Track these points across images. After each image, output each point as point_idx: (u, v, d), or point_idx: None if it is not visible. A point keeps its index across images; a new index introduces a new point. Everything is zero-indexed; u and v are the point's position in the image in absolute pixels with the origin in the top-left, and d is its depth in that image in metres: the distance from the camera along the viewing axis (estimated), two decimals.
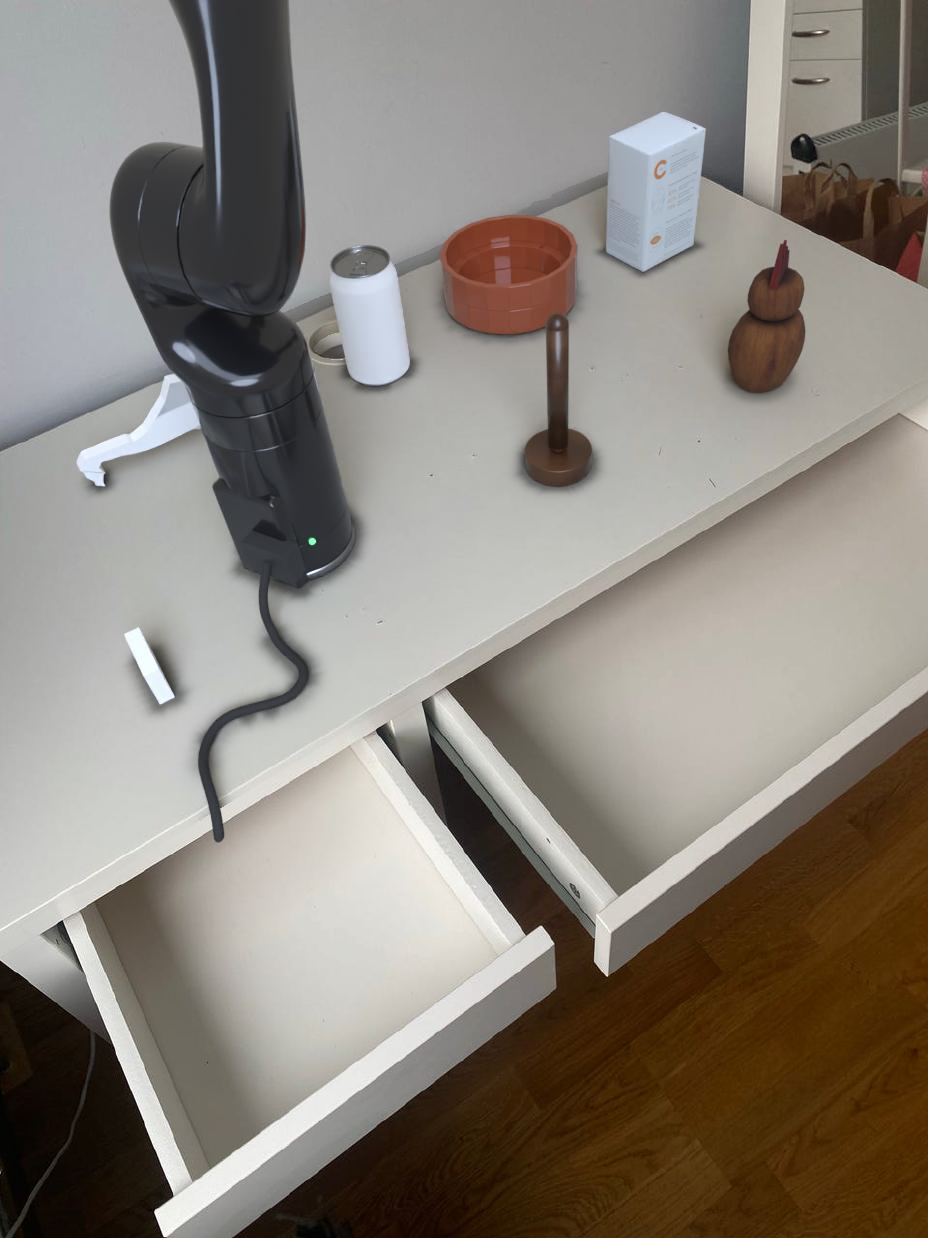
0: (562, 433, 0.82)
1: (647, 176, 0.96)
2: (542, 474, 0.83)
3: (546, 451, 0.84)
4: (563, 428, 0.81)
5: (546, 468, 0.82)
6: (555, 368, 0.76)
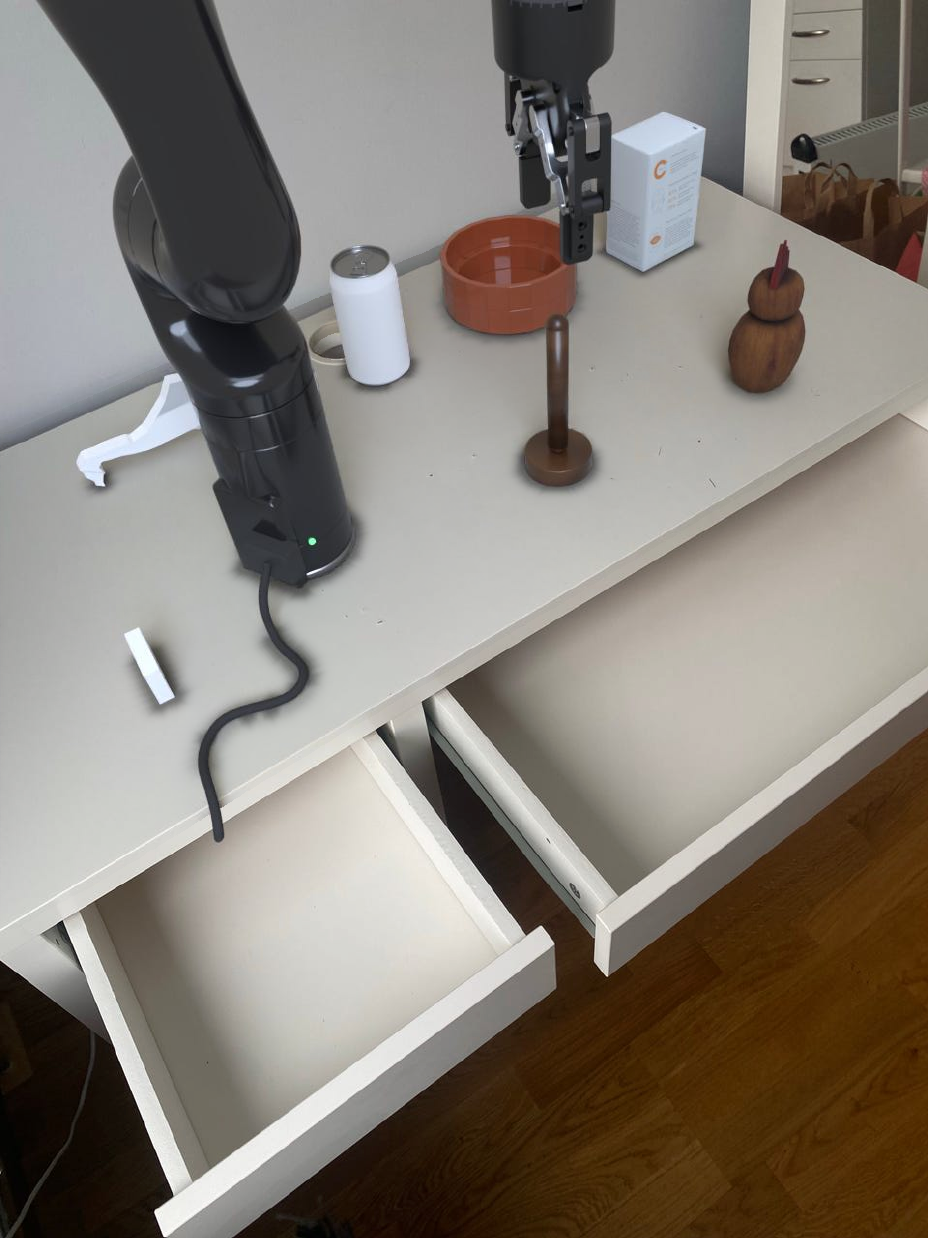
0: (562, 433, 0.82)
1: (647, 176, 0.96)
2: (542, 474, 0.83)
3: (546, 451, 0.84)
4: (563, 428, 0.81)
5: (546, 468, 0.82)
6: (555, 368, 0.76)
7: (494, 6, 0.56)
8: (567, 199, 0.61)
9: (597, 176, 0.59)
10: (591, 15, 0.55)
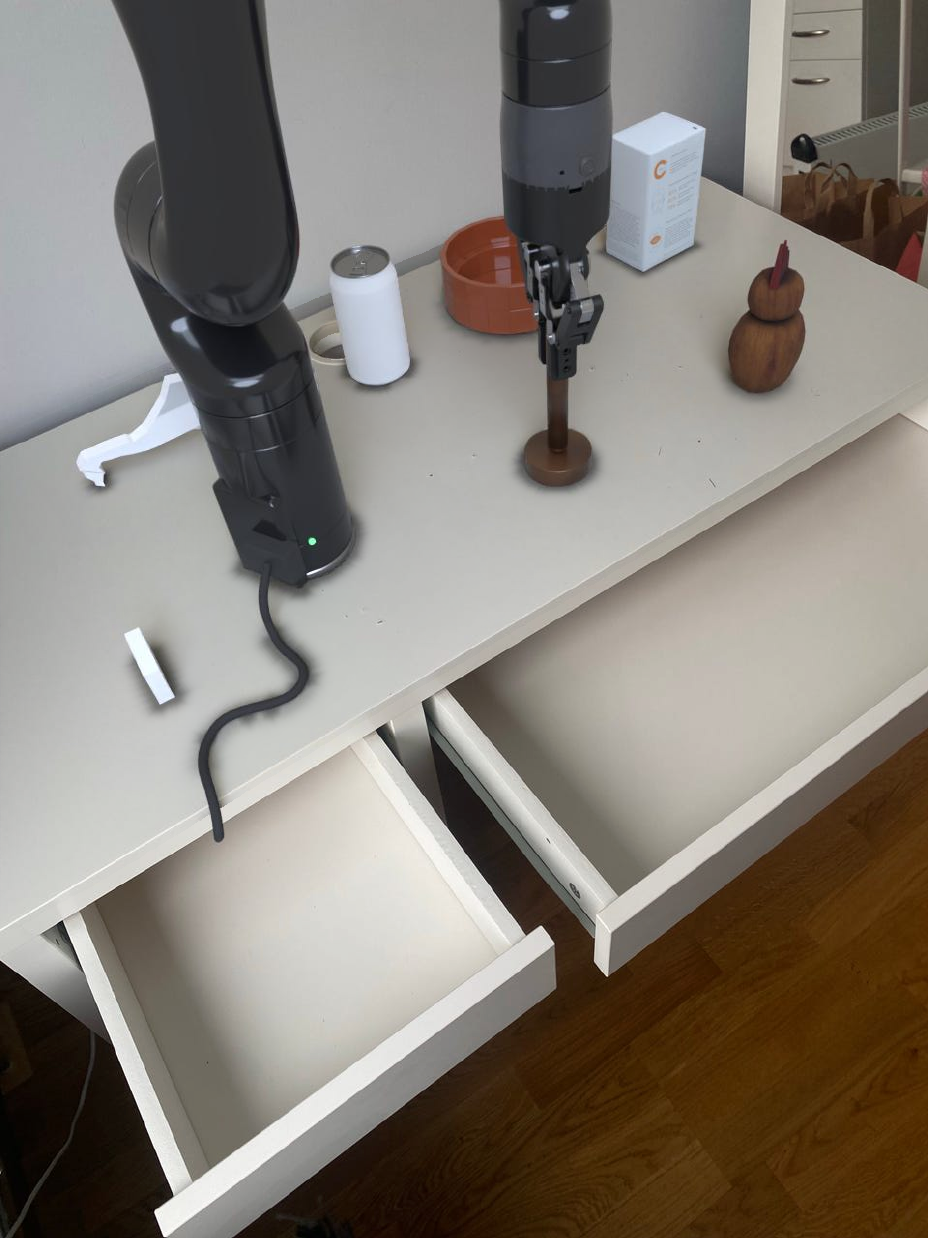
0: (562, 433, 0.82)
1: (647, 176, 0.96)
2: (542, 474, 0.83)
3: (546, 451, 0.84)
4: (563, 428, 0.81)
5: (546, 468, 0.82)
6: None
7: (504, 182, 0.64)
8: None
9: (583, 332, 0.69)
10: (589, 194, 0.63)
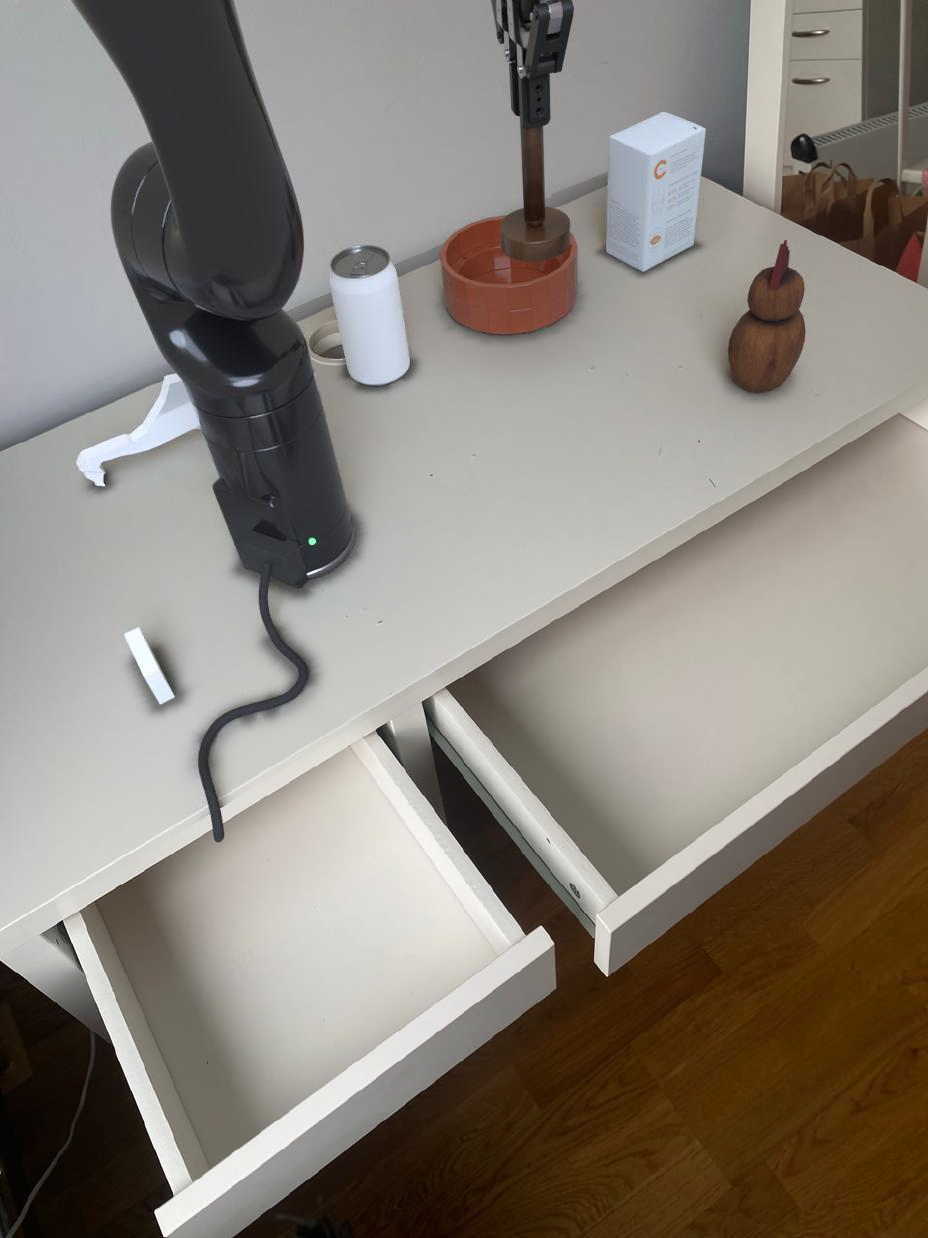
0: (538, 200, 0.78)
1: (647, 176, 0.96)
2: (518, 247, 0.79)
3: (522, 225, 0.80)
4: (539, 194, 0.77)
5: (522, 240, 0.78)
6: None
7: None
8: (524, 61, 0.68)
9: (554, 50, 0.65)
10: None
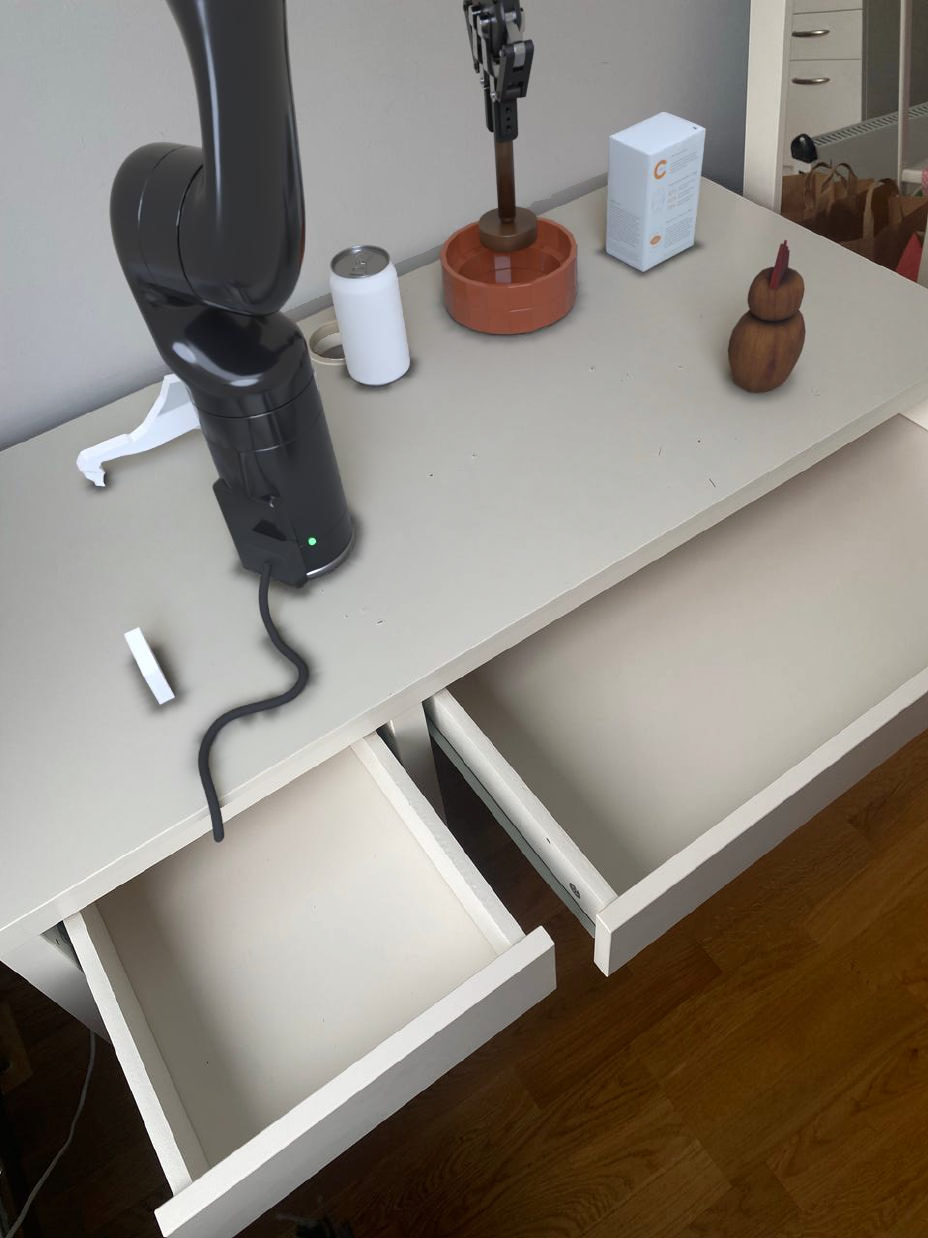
0: (509, 201, 0.93)
1: (647, 176, 0.96)
2: (493, 240, 0.95)
3: (497, 222, 0.96)
4: (510, 196, 0.93)
5: (496, 234, 0.94)
6: None
7: None
8: (496, 88, 0.84)
9: (519, 80, 0.81)
10: None
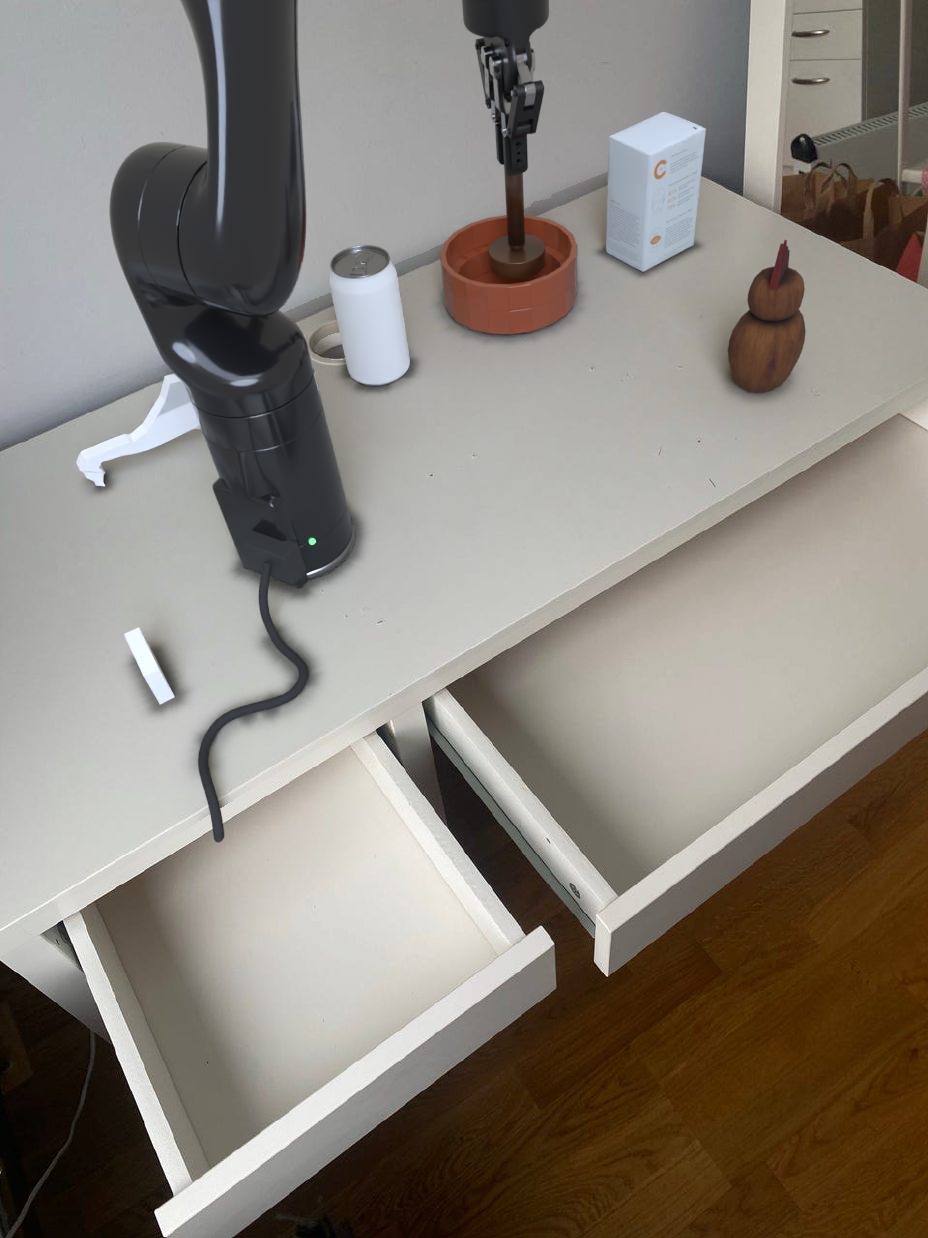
0: (519, 229, 0.97)
1: (647, 176, 0.96)
2: (503, 267, 0.98)
3: (506, 249, 0.99)
4: (520, 225, 0.96)
5: (506, 261, 0.98)
6: None
7: None
8: (507, 124, 0.87)
9: (529, 118, 0.85)
10: None
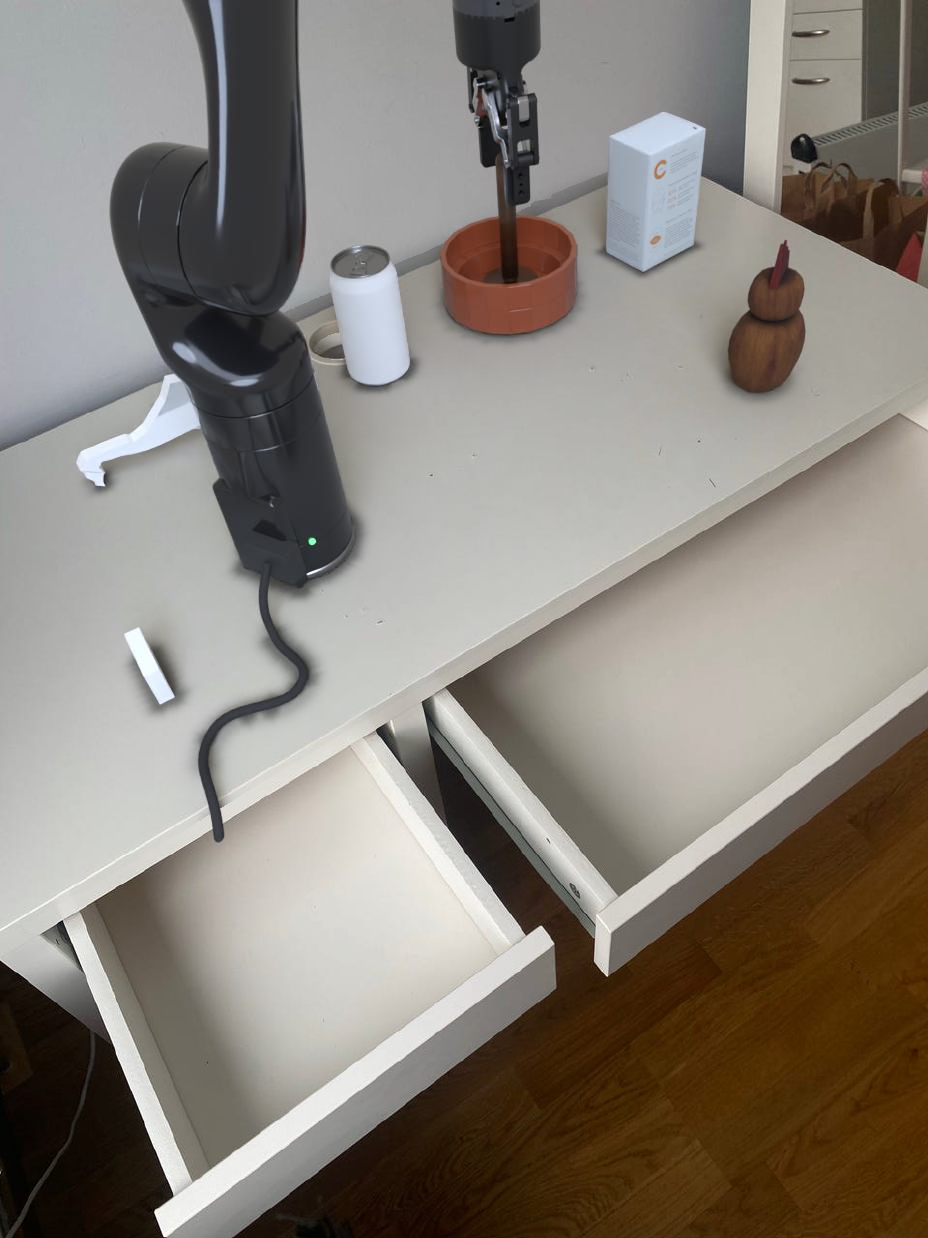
0: (512, 263, 0.98)
1: (647, 176, 0.96)
2: None
3: (500, 282, 1.01)
4: (513, 258, 0.98)
5: None
6: (504, 200, 0.93)
7: (455, 17, 0.80)
8: (509, 156, 0.86)
9: (528, 138, 0.83)
10: (521, 24, 0.79)
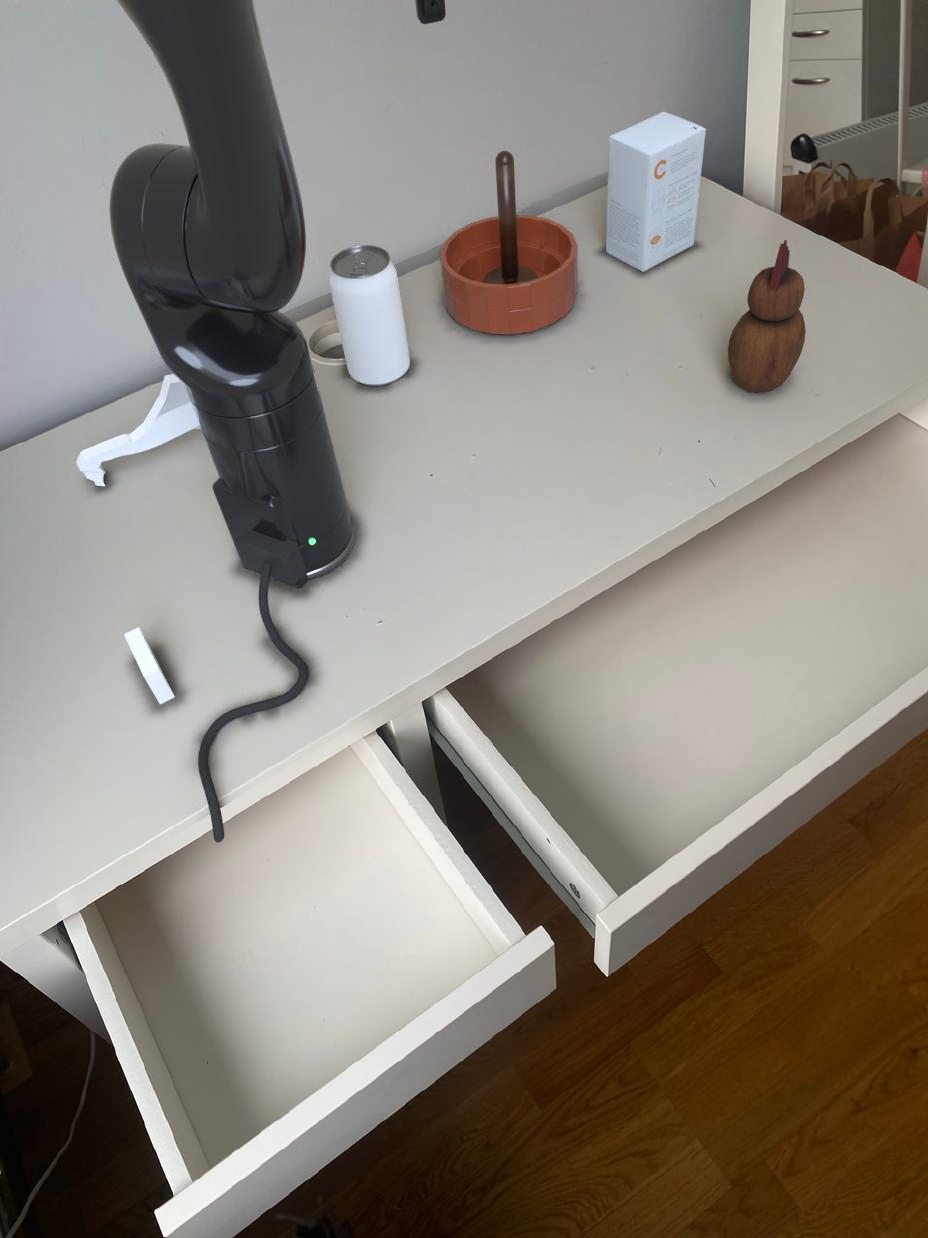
0: (512, 263, 0.98)
1: (647, 176, 0.96)
2: None
3: (500, 282, 1.01)
4: (513, 258, 0.98)
5: None
6: (504, 200, 0.93)
7: None
8: None
9: None
10: None
